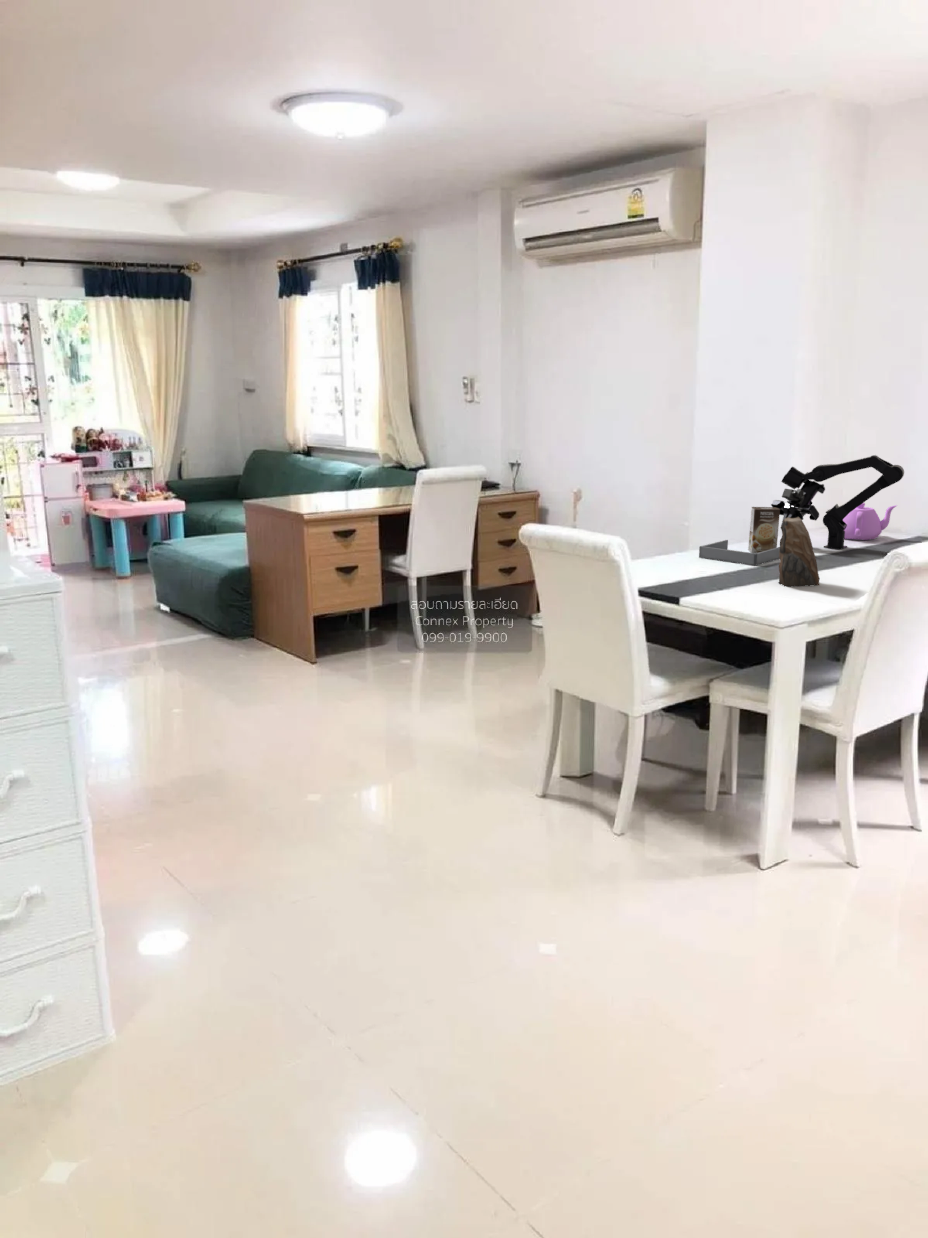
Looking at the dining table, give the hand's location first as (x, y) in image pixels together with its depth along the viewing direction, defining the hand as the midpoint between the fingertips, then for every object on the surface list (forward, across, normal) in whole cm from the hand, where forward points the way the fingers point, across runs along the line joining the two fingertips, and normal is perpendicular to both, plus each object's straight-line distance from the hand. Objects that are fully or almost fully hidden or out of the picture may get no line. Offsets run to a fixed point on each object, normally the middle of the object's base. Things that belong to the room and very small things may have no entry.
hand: (782, 527), depth 358 cm
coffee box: (+13, 0, -1) cm, 13 cm away
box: (+23, +4, -12) cm, 27 cm away
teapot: (-26, +1, +37) cm, 45 cm away
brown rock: (+34, +44, -23) cm, 60 cm away
